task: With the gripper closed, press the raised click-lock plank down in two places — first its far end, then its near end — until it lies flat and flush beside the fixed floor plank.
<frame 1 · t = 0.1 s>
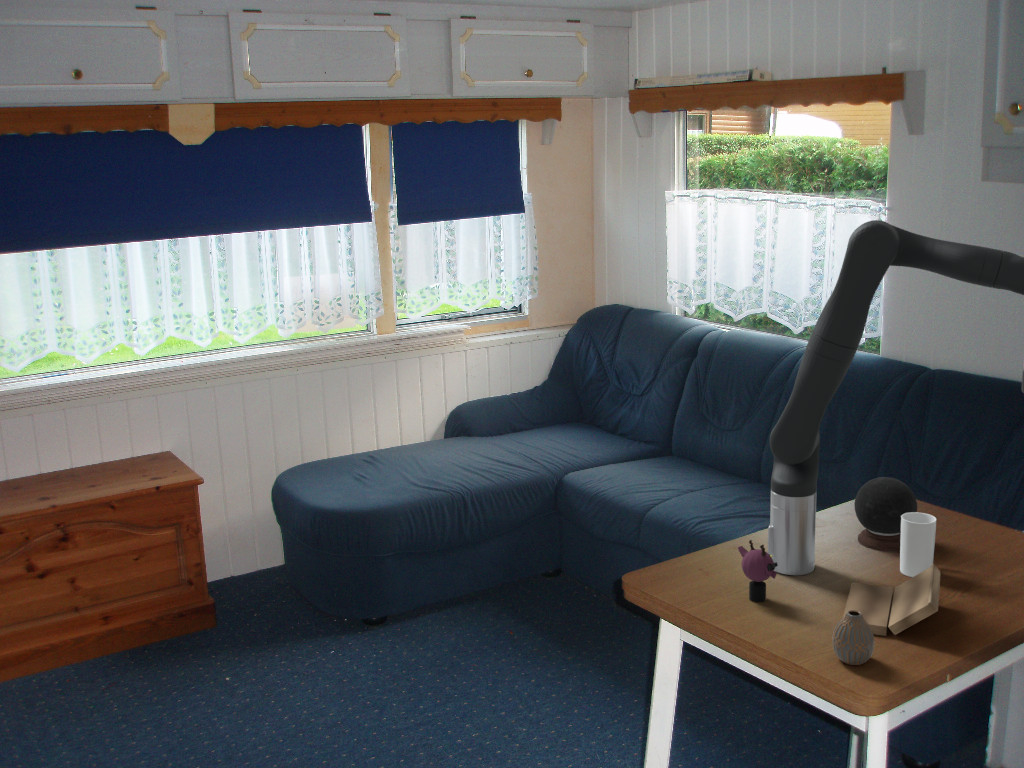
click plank: (891, 606, 188), point 2 cm above the table, hinge at 40.0°
fixed plank: (868, 612, 190), on the table
figurine: (756, 599, 197), on the table
black sphere on base: (884, 542, 223), on the table
mug: (919, 570, 208), on the table
vase: (852, 660, 172), on the table
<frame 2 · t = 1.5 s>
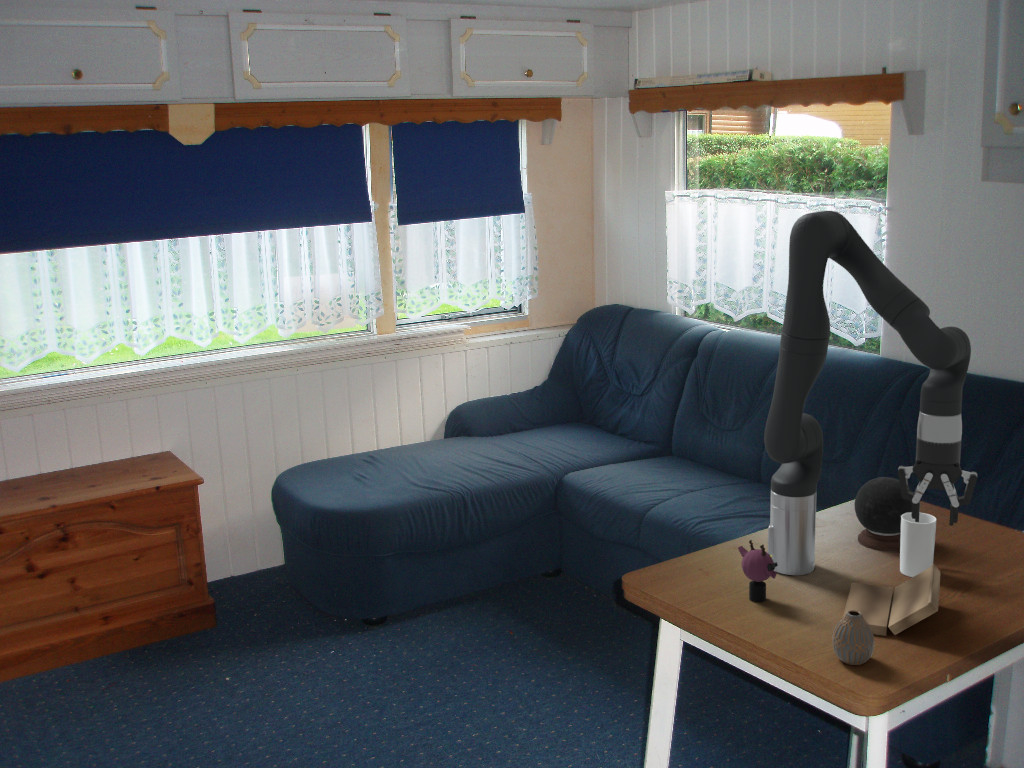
hand: (934, 522, 186), 17 cm above the table, fingers open, 5 cm apart
nothing on the table moved.
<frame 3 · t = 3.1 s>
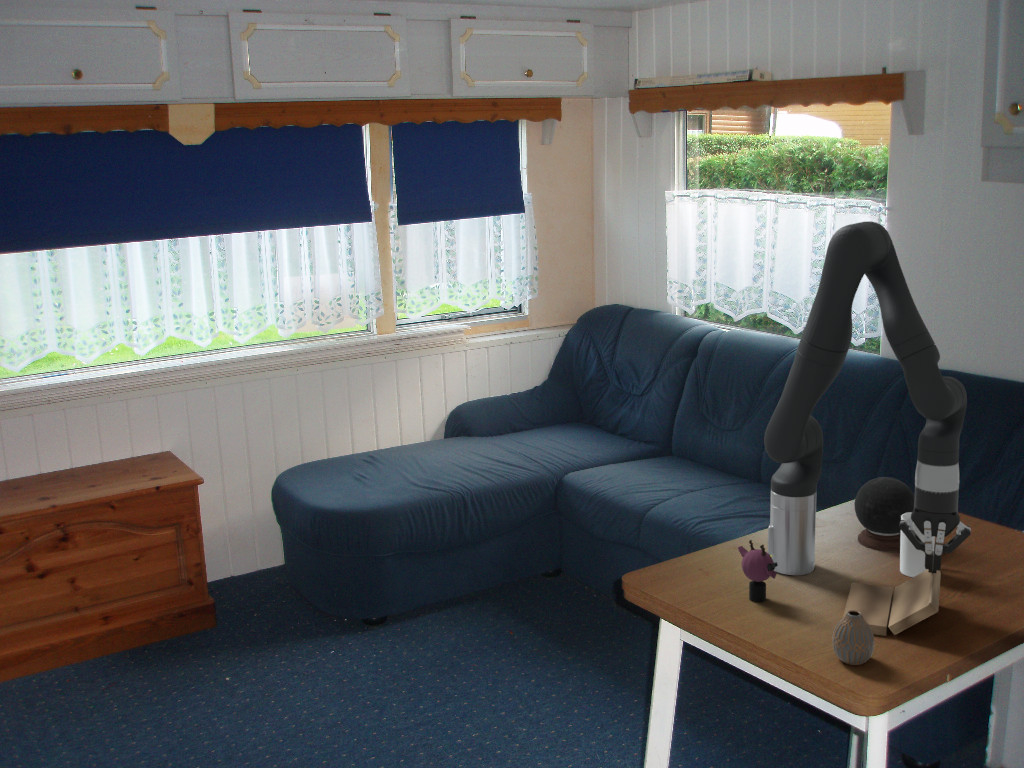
hand: (932, 571, 188), 8 cm above the table, fingers closed
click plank: (891, 606, 188), point 2 cm above the table, hinge at 39.2°, touching gripper
everything else where it was.
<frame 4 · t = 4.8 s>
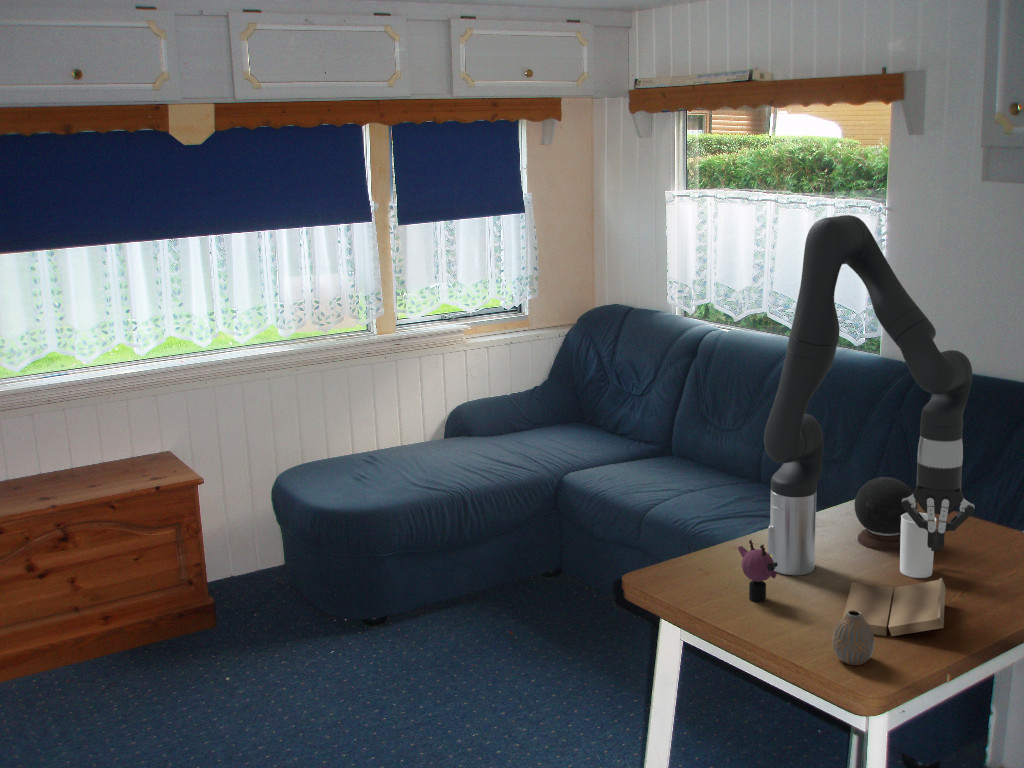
hand: (935, 549, 184), 13 cm above the table, fingers closed
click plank: (891, 606, 188), point 2 cm above the table, hinge at 19.7°
everything else where it was.
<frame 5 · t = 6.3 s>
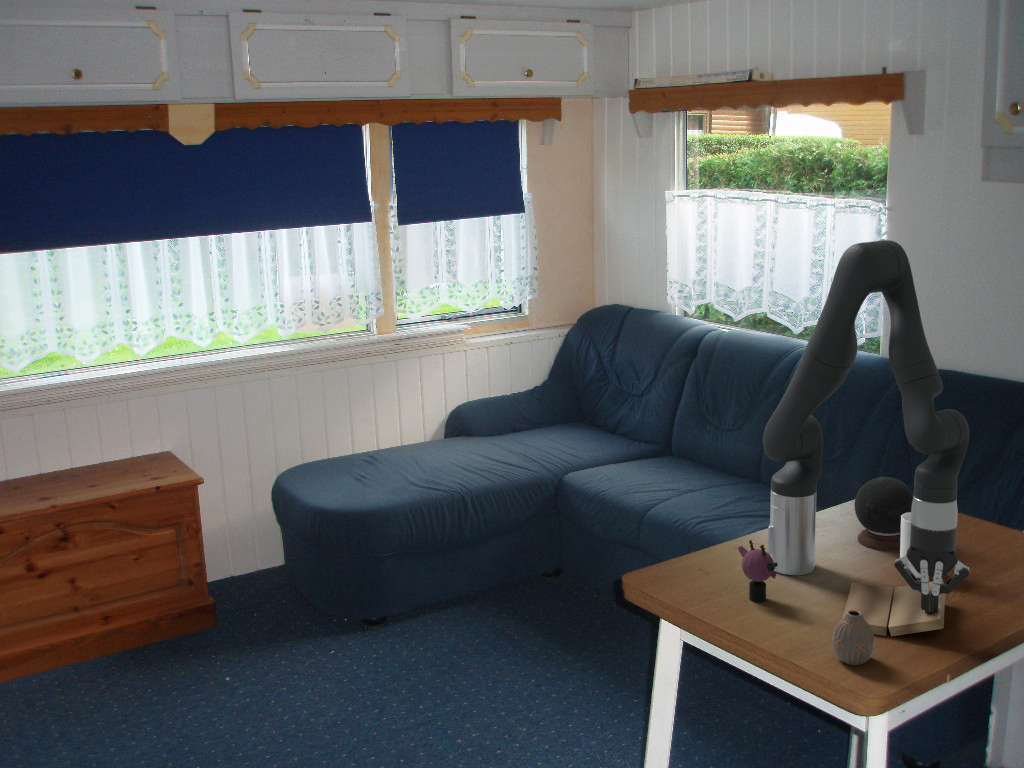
hand: (929, 612, 179), 4 cm above the table, fingers closed
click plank: (891, 606, 188), point 2 cm above the table, hinge at 18.9°, touching gripper
everything else where it was.
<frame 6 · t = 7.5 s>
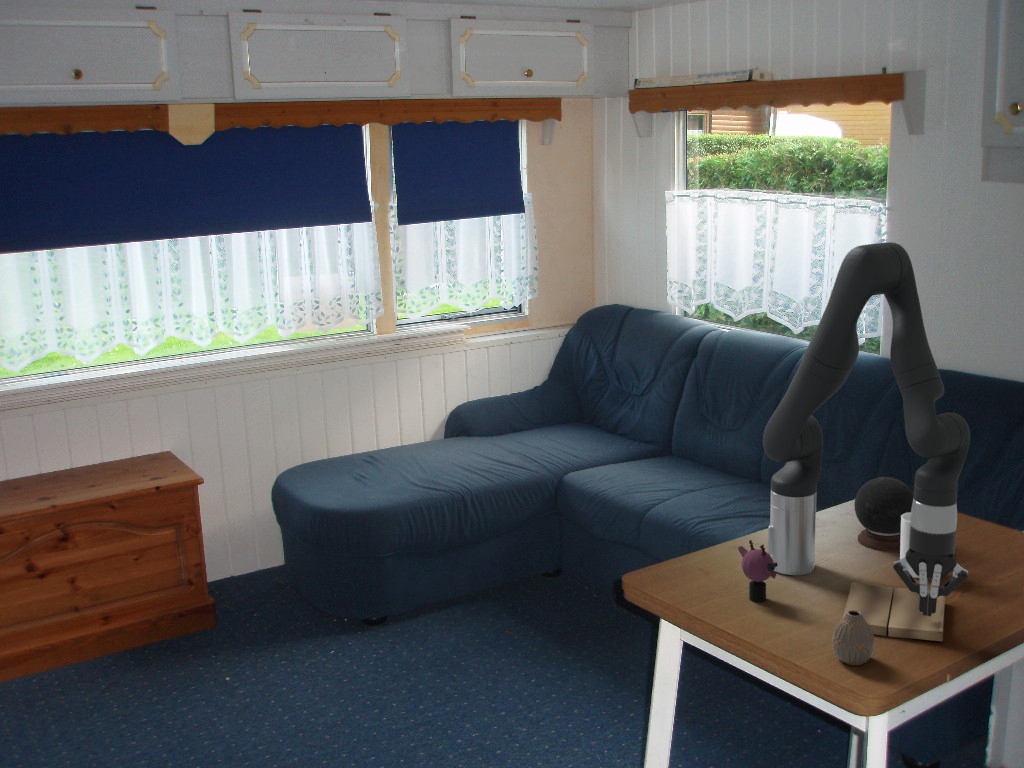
hand: (927, 614, 180), 4 cm above the table, fingers closed
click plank: (891, 606, 188), point 2 cm above the table, hinge at 3.5°
everything else where it was.
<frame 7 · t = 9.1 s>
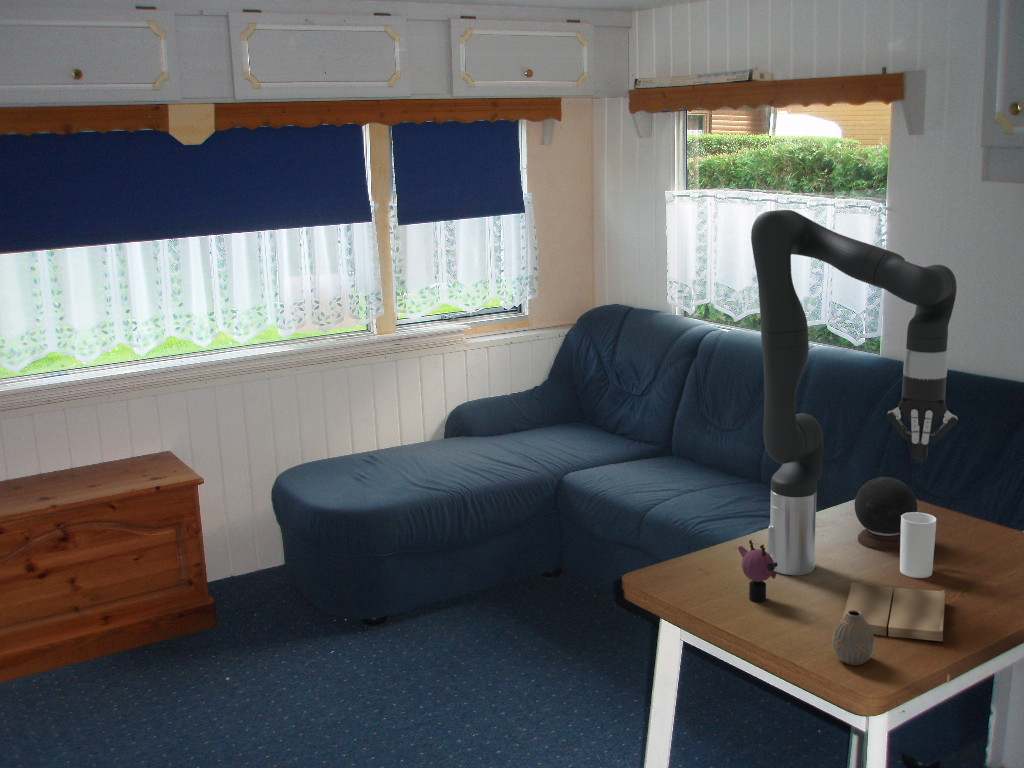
hand: (918, 461, 189), 28 cm above the table, fingers closed
nothing on the table moved.
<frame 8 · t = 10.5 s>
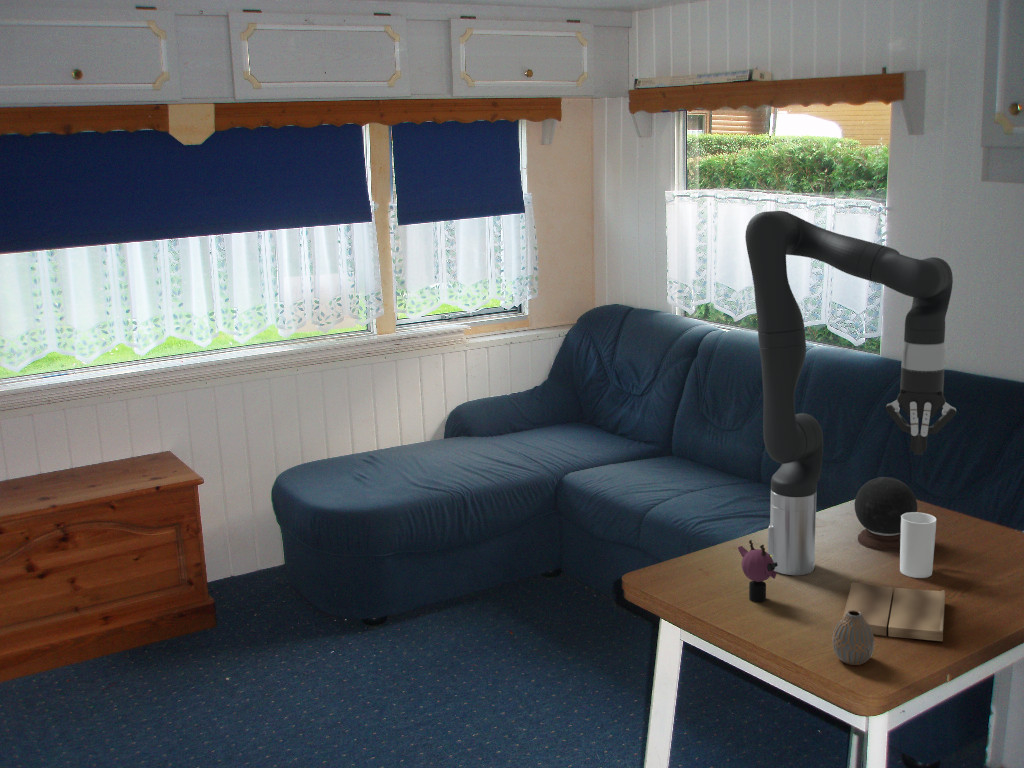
hand: (918, 453, 190), 29 cm above the table, fingers closed
nothing on the table moved.
at the end: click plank at +4° (first picture: +40°); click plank touching nothing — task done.
